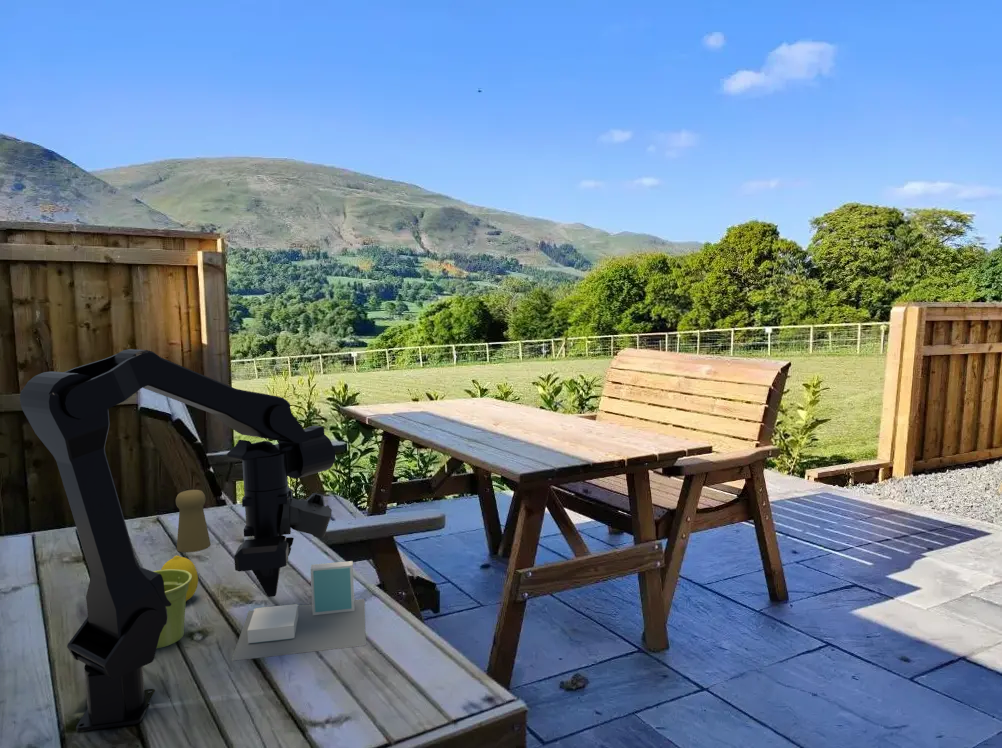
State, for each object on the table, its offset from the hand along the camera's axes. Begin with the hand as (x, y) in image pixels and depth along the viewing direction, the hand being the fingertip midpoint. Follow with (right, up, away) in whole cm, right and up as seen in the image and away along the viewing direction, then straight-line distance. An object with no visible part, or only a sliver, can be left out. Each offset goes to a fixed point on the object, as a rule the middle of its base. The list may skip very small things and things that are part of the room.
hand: (272, 595), depth 97 cm
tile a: (-1, -4, +4) cm, 6 cm away
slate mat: (+4, -6, +2) cm, 7 cm away
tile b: (+7, -4, +7) cm, 11 cm away
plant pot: (-15, -6, -1) cm, 17 cm away
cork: (-27, -3, +37) cm, 46 cm away
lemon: (-18, -5, +11) cm, 22 cm away
